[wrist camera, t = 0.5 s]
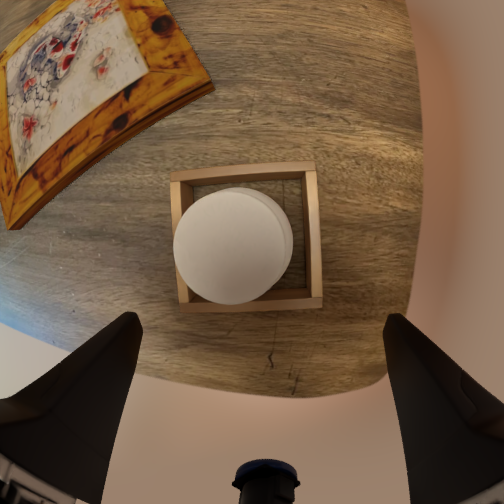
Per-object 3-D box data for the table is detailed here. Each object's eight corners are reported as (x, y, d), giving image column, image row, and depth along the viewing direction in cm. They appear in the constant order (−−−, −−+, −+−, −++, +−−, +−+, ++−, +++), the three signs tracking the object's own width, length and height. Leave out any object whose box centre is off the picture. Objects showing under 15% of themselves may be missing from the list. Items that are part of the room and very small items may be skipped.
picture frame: (7, 230, 24) (-10, 65, 22) (19, 229, 26) (-2, 68, 24) (210, 79, 21) (130, -47, 19) (215, 89, 23) (135, -39, 21)
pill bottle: (261, 184, 23) (250, 150, 12) (301, 248, 24) (325, 270, 12) (198, 224, 24) (139, 226, 13) (237, 287, 24) (208, 338, 13)
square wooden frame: (316, 296, 24) (322, 307, 21) (192, 301, 25) (180, 313, 21) (309, 168, 23) (315, 159, 20) (183, 178, 24) (169, 171, 20)
